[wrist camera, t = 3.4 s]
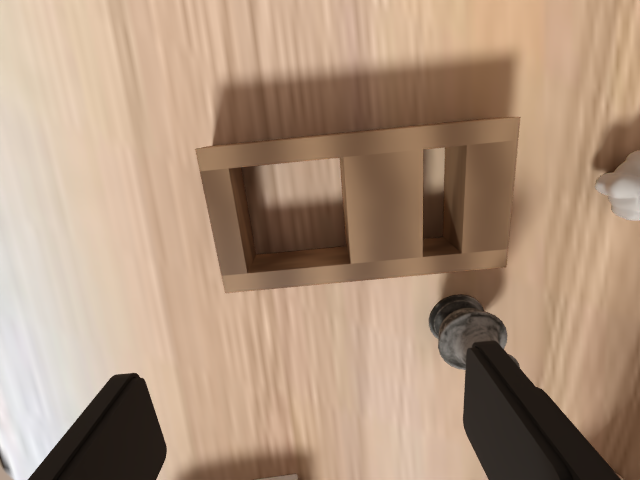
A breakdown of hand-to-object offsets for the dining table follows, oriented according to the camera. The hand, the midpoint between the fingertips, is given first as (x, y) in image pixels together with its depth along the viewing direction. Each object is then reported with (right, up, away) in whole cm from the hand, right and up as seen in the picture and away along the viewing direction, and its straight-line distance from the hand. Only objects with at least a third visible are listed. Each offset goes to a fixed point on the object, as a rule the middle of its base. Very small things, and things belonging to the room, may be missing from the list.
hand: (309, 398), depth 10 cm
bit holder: (+3, +8, +18) cm, 20 cm away
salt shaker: (+13, -3, +23) cm, 26 cm away
